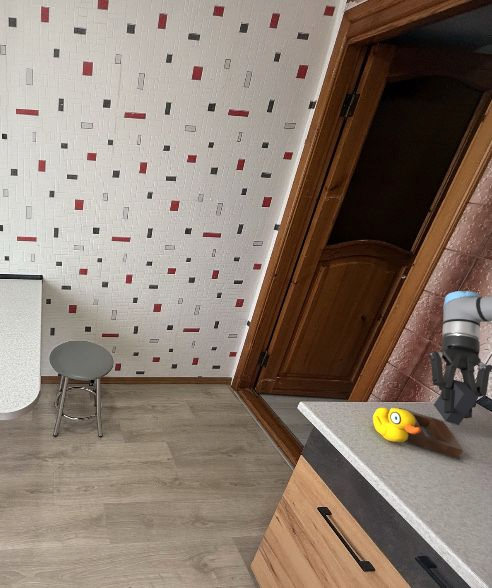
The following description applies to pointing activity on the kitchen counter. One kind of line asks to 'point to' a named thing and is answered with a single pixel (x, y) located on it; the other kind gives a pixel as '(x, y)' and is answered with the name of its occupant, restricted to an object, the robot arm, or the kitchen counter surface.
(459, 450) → the seat base
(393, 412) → the duckling
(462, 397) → the dark grey rectangular block
